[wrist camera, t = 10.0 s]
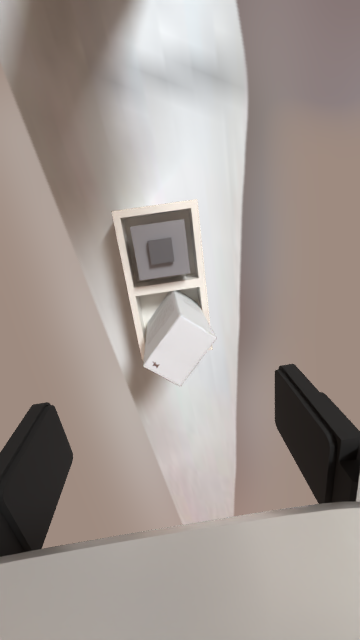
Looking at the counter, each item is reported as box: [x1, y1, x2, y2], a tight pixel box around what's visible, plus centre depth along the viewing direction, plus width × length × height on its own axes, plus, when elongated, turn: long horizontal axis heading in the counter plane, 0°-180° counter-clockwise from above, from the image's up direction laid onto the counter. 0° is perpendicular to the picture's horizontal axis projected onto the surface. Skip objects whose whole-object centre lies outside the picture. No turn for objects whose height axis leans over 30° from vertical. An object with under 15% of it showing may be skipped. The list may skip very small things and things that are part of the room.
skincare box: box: [143, 290, 217, 386], centre depth 29 cm, size 6×4×12 cm
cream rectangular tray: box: [111, 199, 213, 360], centre depth 32 cm, size 18×9×4 cm, turn 8°
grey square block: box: [130, 219, 190, 280], centre depth 30 cm, size 6×6×5 cm
